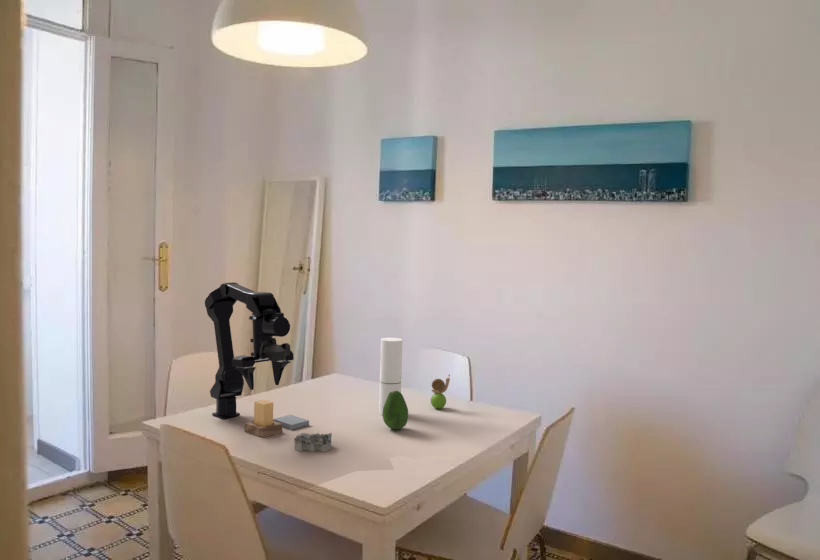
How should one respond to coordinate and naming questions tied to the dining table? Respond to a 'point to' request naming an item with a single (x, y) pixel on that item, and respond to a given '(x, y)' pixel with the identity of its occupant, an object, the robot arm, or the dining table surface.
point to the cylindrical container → (390, 368)
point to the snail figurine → (439, 393)
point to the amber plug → (263, 413)
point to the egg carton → (313, 442)
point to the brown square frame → (263, 429)
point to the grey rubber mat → (292, 421)
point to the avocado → (395, 411)
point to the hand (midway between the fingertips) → (264, 387)
